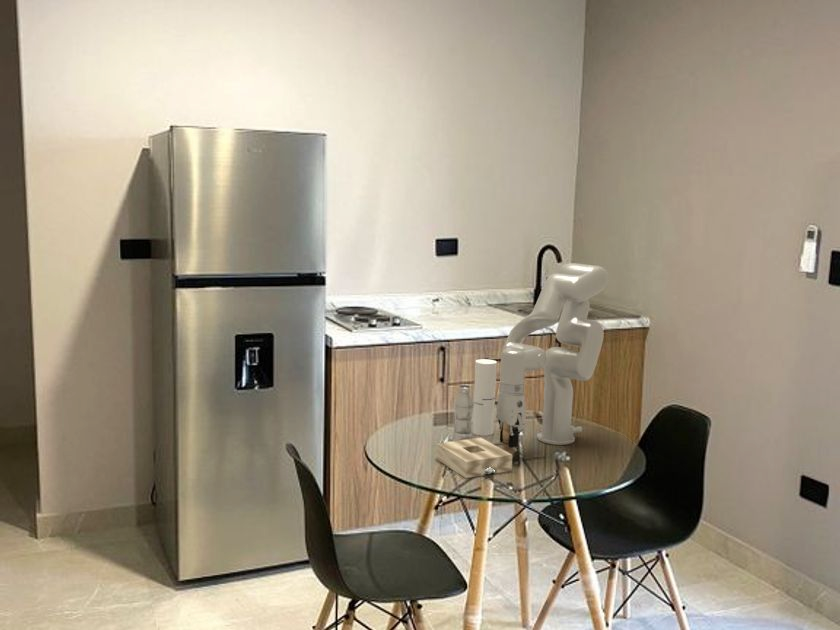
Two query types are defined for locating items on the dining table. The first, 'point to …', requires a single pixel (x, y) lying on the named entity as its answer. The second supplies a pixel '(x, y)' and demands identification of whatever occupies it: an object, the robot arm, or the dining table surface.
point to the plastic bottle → (463, 414)
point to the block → (473, 457)
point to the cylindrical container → (484, 397)
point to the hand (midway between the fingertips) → (508, 443)
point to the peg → (507, 439)
